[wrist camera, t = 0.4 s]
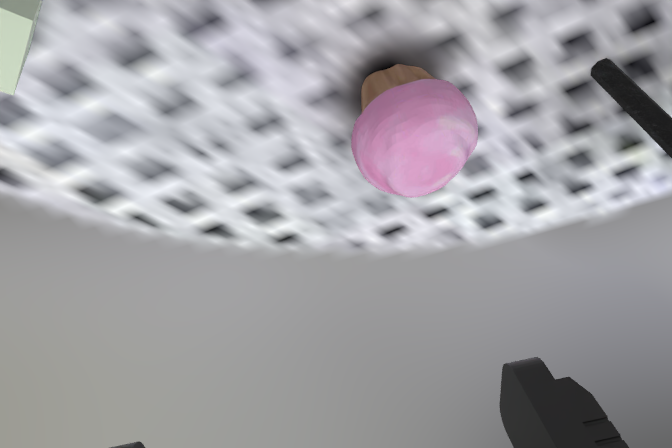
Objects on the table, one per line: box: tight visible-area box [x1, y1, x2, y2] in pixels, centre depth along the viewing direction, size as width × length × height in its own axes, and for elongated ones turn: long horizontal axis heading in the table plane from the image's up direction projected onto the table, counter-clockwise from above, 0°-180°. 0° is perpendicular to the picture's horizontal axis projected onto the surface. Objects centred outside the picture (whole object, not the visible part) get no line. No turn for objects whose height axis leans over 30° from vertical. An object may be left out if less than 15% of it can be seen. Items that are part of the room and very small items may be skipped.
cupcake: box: [351, 64, 478, 197], centre depth 37 cm, size 9×9×10 cm
